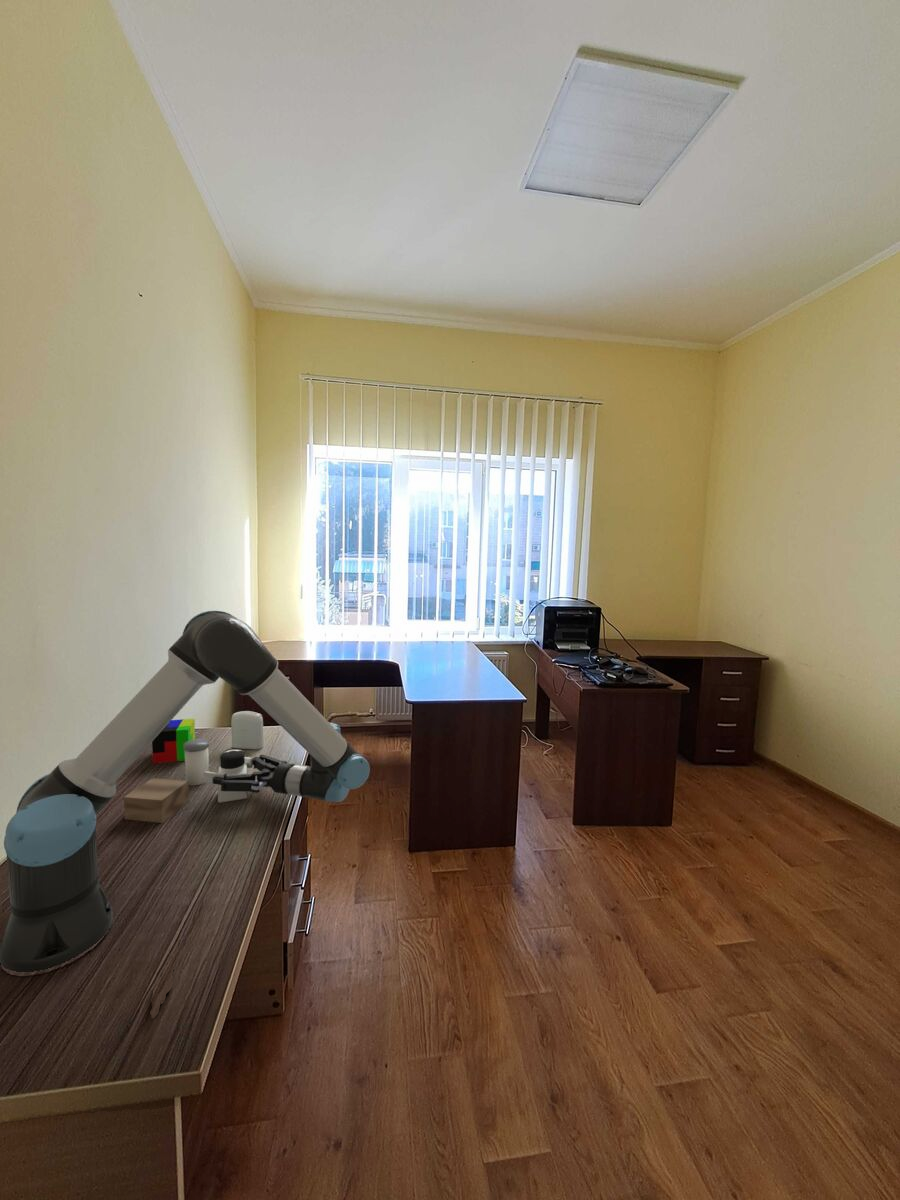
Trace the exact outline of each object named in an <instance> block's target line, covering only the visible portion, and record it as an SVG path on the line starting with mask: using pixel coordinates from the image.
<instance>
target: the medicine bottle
mask: <svg viewBox="0 0 900 1200" xmlns="http://www.w3.org/2000/svg"><path fill="white" fill-rule="evenodd" d="M245 755H246V754H245V752H244V751H243V750H242V749H230V750H227V751H224V752H222V753H221V755H220V756H219V758H220V759H219V761H220V762H219V767H218V772H217V773H222V774H227V776H237V775H248V768H247V763H245V757H246V756H245ZM247 798H248V792H240V791H221V785H218V784H217V802H218V803H219V804H220V803H225V802H233V801H234V802H235V801H240V800H246V799H247Z"/></svg>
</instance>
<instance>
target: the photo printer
mask: <svg viewBox="0 0 900 1200" xmlns="http://www.w3.org/2000/svg"><path fill="white" fill-rule="evenodd" d="M230 722H231V728H230V729H231V746H232V748H233V749H239V750H243V749H244V750H261V749H262V748H263V747H264V718H263V715H262V714H261V713H258V712H255V711H251V710H244V711H242V710H241V711H237V712H235V713H233V714H232V716H231V721H230Z"/></svg>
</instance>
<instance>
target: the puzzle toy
mask: <svg viewBox="0 0 900 1200" xmlns="http://www.w3.org/2000/svg"><path fill="white" fill-rule="evenodd" d="M195 722H196V721H195V718H185V719H184V718H183V719H172V720H171V721H170V722H169V723H168V724H167V726H166V727H165V728H164V729H163V730H162V731H161V732H160V733H159V734H158V736H157V737H156V738H155V739H154V740H153V741H152V742H151V745H152V746H151V748H152V749H151V750H152V764H160V763H161V764H162V763H173V762H183V761H184V762H185V750H184V743H186V742H187V741H190V740H193V739H196V731H195V729H196V728H195V726H196V725H195Z"/></svg>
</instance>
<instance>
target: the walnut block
mask: <svg viewBox="0 0 900 1200" xmlns="http://www.w3.org/2000/svg"><path fill="white" fill-rule="evenodd" d="M189 796H190V795H189V785H188V781H186V780H183V779H182V780H180V779H168V778H160V777H159V778H157V777H152V778H151V779H149V780H147V781H146V782H144V783H143V784H141V785H140V786H138V787H137V788H135V789H134V790H132V791H131V792H129V793H128V794H126V795H124V796H123V806H124V807H123V808H124V809H123V810H124V820H131V821H140V822H148V823H149V822H150V823H159V824H160V823H161V824H162V823H164V822H166V821H167V820H168V819H170V817H172V816H173V815H174V814H175V813H177V812H178V811H179V810H181V809H182V808H183V807H184V806H186V805H187V804H188V803H189V802H190V797H189Z"/></svg>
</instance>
